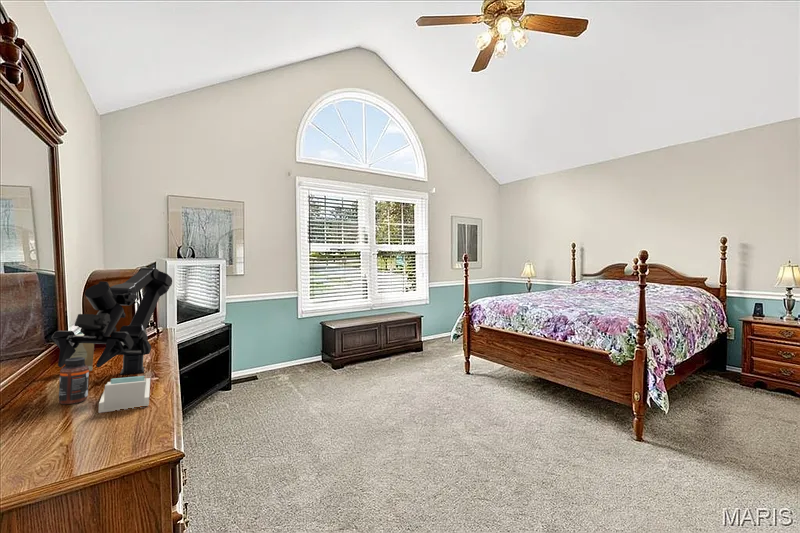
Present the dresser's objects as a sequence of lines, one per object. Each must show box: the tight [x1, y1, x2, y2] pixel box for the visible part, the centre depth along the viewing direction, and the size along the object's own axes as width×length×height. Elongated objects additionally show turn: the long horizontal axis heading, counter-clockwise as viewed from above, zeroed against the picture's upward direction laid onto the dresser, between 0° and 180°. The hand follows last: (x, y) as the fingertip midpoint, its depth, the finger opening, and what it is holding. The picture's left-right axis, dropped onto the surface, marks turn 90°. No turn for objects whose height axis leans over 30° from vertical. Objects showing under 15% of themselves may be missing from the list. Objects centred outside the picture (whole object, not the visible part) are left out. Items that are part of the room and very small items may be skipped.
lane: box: [98, 377, 151, 414], centre depth 105 cm, size 20×10×7 cm, turn 32°
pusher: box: [110, 375, 145, 384], centre depth 105 cm, size 3×8×4 cm, turn 123°
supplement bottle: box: [58, 357, 90, 405], centre depth 102 cm, size 6×6×11 cm
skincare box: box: [70, 333, 95, 372], centre depth 129 cm, size 6×4×12 cm
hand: (78, 366), depth 103 cm, fingers open, 9 cm apart
